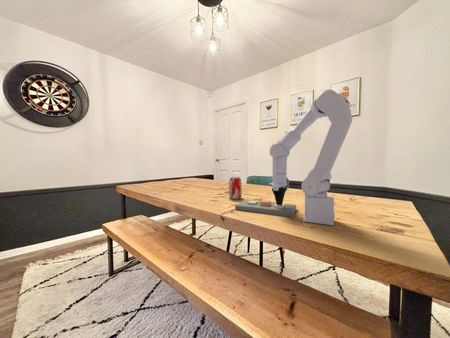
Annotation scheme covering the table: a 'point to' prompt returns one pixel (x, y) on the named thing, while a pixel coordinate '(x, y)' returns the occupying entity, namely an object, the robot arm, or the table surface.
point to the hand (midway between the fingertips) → (279, 204)
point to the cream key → (279, 206)
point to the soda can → (235, 188)
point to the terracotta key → (265, 203)
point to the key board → (267, 208)
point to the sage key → (252, 202)
